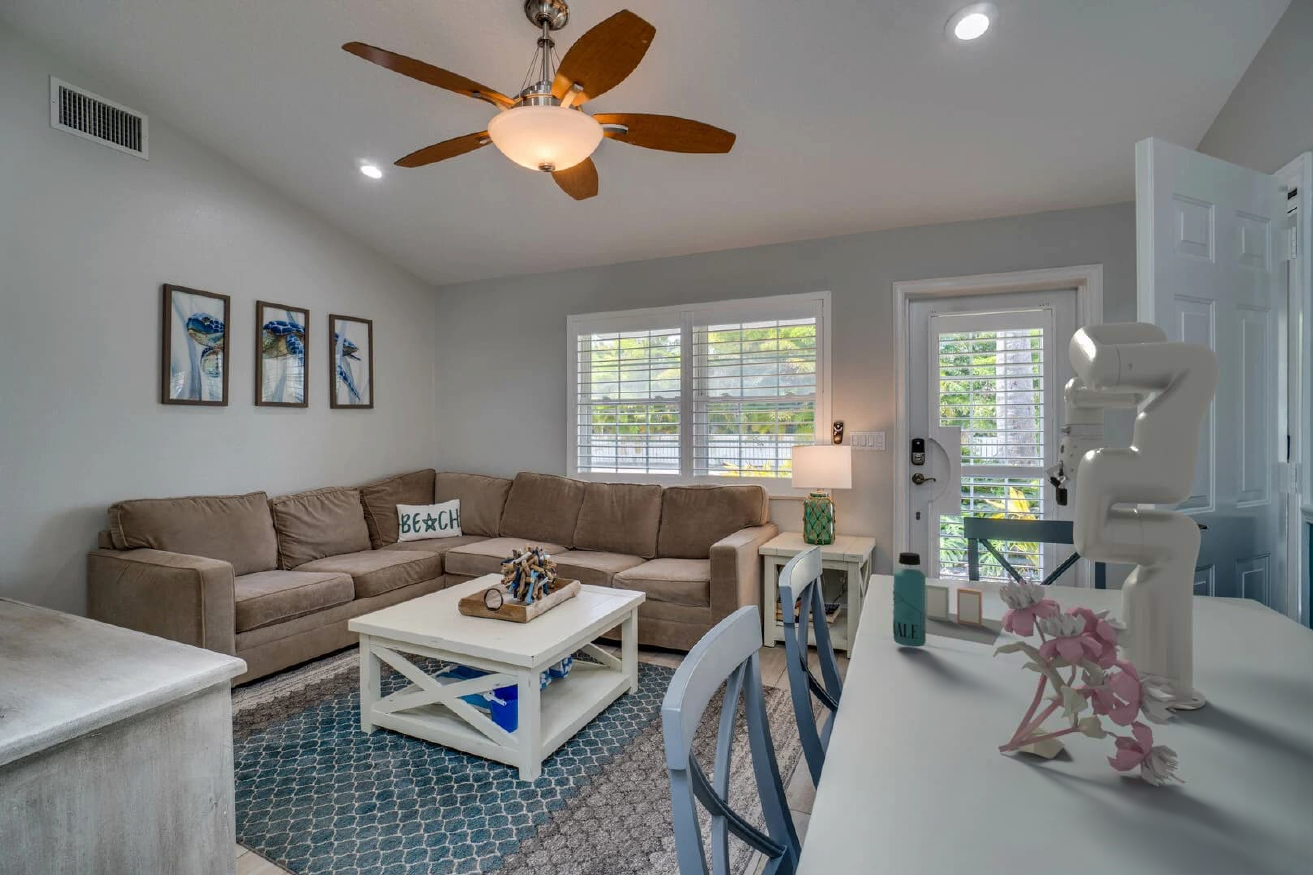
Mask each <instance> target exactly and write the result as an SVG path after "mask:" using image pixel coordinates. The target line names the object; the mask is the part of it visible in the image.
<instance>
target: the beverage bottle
mask: <svg viewBox="0 0 1313 875" xmlns="http://www.w3.org/2000/svg"><path fill="white" fill-rule="evenodd" d="M920 556H921V555H920V554H918V553H916V552H908V551H907V552H899V558H898V563H899V564H901V565H905V566H918V565H921V558H920ZM926 578H927V576H926V575H925V573H924V572H923V571H921V570H920V569H918V568H914V567H900V568H897V569H896V571H894V572H893V585H892V586H893V591H892V596H893V597H892V600H893V601H892V602H893V604H892V606H893V611H892V614H893V615H892V616H893V619H892V621H893V622H892V625H893V626H892V634H893V636H892V638H893V640H894V642H895V643H896V644H899V645H902V646H905V647H911V648H912V647H913V648H914V647H915V648H916V647H917V648H918V647H923V646H926V642H927V641H926V640H927V639H926V638H927V637H926V635H927V634H926V631H925V584H926Z"/></svg>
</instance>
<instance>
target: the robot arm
mask: <svg viewBox="0 0 1313 875" xmlns="http://www.w3.org/2000/svg"><path fill="white" fill-rule="evenodd" d="M1068 356H1069V362H1070V365H1071V366H1072V368H1073V370H1074V371H1075V373H1076V374H1077V375H1078V376H1074V377H1072V378H1071V379H1070V380H1069V381H1067V382H1066V384H1065V386H1064V390H1063V399H1064V426H1063V427H1059V430H1058V432H1059V434H1063V436H1064V437H1063V438H1061V442H1060V445H1059V446H1060V447H1059V451H1058V460H1057V463H1055V464H1053V465H1050V466H1048V467H1046V468H1044V469H1043V473H1044V474H1045V477H1046V478H1047V480H1048V482H1049V483H1050V484H1051V485H1052V487H1053V488H1055V501H1056V503H1057V505H1058V506H1062V507H1066V506H1067V505H1068V489H1067V488H1066V486H1067V485H1068V484H1069V483H1070V482H1071V481H1073V482H1076V485H1075V486H1076V487H1075V498H1074V500H1075V501H1074V510H1073V511H1074V512H1073V528H1072V529H1073V530H1072V536H1073V537H1072V539H1073V546H1074V549H1075V552H1076V553H1077V554H1078V556H1079V557H1081V558H1082V559H1084V560H1087V561H1090V562H1097V563H1109V564H1125V565H1129V564H1130V565H1137V566H1136V568H1134V569H1133V570H1132V571H1131V573H1130V574H1129V575H1128V576H1127V578H1126V579H1125V580H1124V582H1123V584H1122V588H1121V600H1120V601H1121V608H1120V610H1121V616H1120V617H1121V622H1120V623H1123V622H1127V623H1129V628H1128V631H1127V633H1128V634H1127V635H1130V636H1129V637H1127V636H1125V638H1130V639H1132V640H1133V641H1132V643H1131V645H1130V648H1125V649H1124V648H1122V647H1121V646H1120V648H1121V650H1120V653H1121V656H1120V657H1121V658H1120V659H1124V660H1128V661H1130V662H1131V663H1132V664H1133V666H1134V667H1135V669H1136V670H1137V673H1138V676H1139V680H1140V683H1141V682H1143V681H1144V680H1145V679H1146V678H1147V677H1149V676H1160V677H1163V678H1166V679H1169V680H1172V682H1169V683H1167V684H1166V685H1167V686H1168V687H1170V688H1171V691H1173V692H1174V691H1177V692H1176V695H1173V694H1171V695H1172V696H1174V697H1172V698H1171V699H1175V700H1177V701H1170V700H1168V701H1169V702H1171V703H1173V704H1180V705H1186V706H1191V707H1193V708H1196V709H1200V708H1202V707H1204V706H1205V705H1206V696H1205V695H1204V694H1203V693H1202V692H1201V691H1200V690H1199V689H1196V688H1195V687H1194V686H1193V685H1194V683H1193V681H1194V680H1193V679H1194V678H1193V677H1194V675H1193V674H1194V673H1193V672H1194V671H1193V669H1194V667H1193V666H1194V664H1193V661H1194V658H1193V657H1194V654H1193V653H1194V649H1193V648H1194V646H1193V644H1194V634H1193V633H1194V632H1193V628H1194V627H1193V626H1194V624H1193V622H1194V620H1193V618H1194V617H1193V616H1194V614H1193V612H1194V610H1193V609H1194V584H1195V583H1194V580H1195V572H1196V566H1197V561H1198V557H1199V554H1200V548H1201V544H1202V538H1201V537H1202V535H1201V530H1200V527H1199V525H1198V524H1197V522H1196V521H1195V520H1194V519H1193V518H1192V517H1190V516H1189V515H1188V514H1185V513H1182V512H1180V511H1175V510H1170V509H1162V508H1161V509H1160V508H1159V509H1158V508H1132V507H1131V508H1125V507H1124V508H1121V507H1114V506H1115V505H1116V504H1132V505H1133V504H1134V505H1135V504H1136V505H1137V504H1138V505H1139V504H1140V505H1142V504H1143V505H1175V504H1176V505H1177V504H1181V503H1183V502H1184V503H1185V502H1186V501H1187V500H1188V499H1190V497H1191V496H1192V494H1193V492H1194V489H1195V484H1196V476H1197V468H1198V460H1199V450H1200V440H1201V431H1202V425H1203V422H1204V419H1205V416H1206V414H1207V412H1208V409H1209V408H1210V406H1211V403H1212V402H1213V399H1214V398H1215V394H1216V392H1217V388H1218V385H1219V381H1220V379H1219V378H1220V364H1219V363H1220V362H1219V360H1218V357H1217V354H1216V352H1215V351H1214V350H1213V349H1212V348H1211V347H1209V346H1207V345H1205V344H1203V343H1199V342H1198V343H1197V342H1191V341H1190V342H1189V341H1168V337H1167V334H1166V332H1165V331H1164V330H1163V329H1162V328H1161V327H1159V326H1158V325H1155V324H1153V323H1150V322H1146V321H1145V322H1144V321H1130V322H1128V321H1127V322H1113V323H1111V322H1110V323H1094V324H1087V325H1085V326H1082V327H1080V328H1079V329H1077V331H1076V332H1075V333H1074V334H1073V336H1072V337H1071V339H1070V342H1069V347H1068ZM1152 393H1160V394H1159V395H1157V396H1156V397H1155V398H1154V399H1152V400H1151V401H1150V402H1149V403H1148V404H1147V405H1146V406H1145V407H1144V408H1143V409H1142V410H1141V411H1140V412H1139V413H1138V415H1137V416H1136V418H1135V420H1134V426H1133V437H1132V438H1133V439H1132V443H1131V445H1130V446H1129V447H1111V444H1110V440H1109V438H1106V437H1105V410H1127V409H1128V410H1129V409H1134V408H1136V407H1139V406H1140V405H1142V404H1143V403H1144V402H1145V401H1146V400H1148V398H1149V397H1150V395H1151V394H1152ZM1055 472H1057V474H1058V478H1057V477H1056V476H1055V474H1054V473H1055ZM1120 671H1123V670H1122V669H1121V668H1120ZM1168 708H1172V709H1175V710H1179V709H1180V710H1185V709H1184V708H1179V707H1174V706H1170V707H1168ZM1168 708H1167V709H1168Z"/></svg>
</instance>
